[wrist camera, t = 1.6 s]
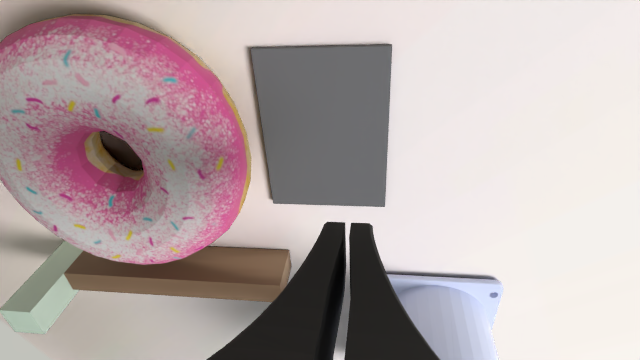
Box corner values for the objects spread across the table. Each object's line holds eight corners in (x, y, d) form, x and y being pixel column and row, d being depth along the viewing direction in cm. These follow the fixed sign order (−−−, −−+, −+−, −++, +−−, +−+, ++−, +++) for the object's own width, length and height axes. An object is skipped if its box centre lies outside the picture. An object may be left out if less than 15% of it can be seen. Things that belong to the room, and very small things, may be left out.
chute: (292, 271, 27) (272, 352, 22) (76, 260, 29) (14, 331, 24) (241, -110, 16) (178, -118, 11) (-109, -84, 18) (-298, -81, 13)
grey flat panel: (384, 203, 23) (384, 206, 23) (274, 200, 24) (273, 203, 24) (391, 44, 18) (392, 46, 18) (252, 47, 19) (250, 49, 19)
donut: (173, -49, 17) (109, -36, 13) (303, 191, 24) (287, 250, 19) (-26, 65, 22) (-121, 102, 17) (129, 242, 28) (86, 300, 24)
